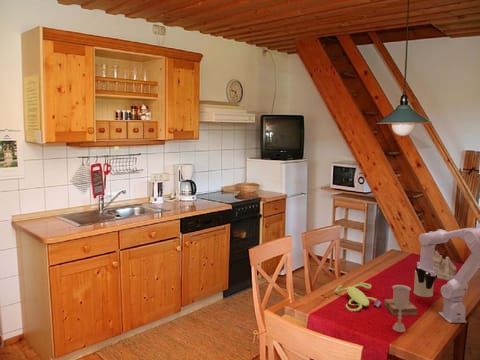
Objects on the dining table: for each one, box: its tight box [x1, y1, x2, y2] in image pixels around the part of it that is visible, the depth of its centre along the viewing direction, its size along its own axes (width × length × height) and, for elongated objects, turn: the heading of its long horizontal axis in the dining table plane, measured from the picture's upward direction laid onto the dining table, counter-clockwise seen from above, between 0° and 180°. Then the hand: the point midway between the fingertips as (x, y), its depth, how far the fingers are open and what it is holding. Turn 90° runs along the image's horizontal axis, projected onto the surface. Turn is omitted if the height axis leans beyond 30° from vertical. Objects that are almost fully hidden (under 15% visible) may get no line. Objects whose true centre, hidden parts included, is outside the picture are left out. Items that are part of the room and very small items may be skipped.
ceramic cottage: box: [433, 250, 457, 282], centre depth 243 cm, size 16×16×15 cm
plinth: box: [383, 298, 418, 316], centre depth 197 cm, size 11×11×3 cm
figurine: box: [334, 281, 382, 313], centre depth 208 cm, size 18×27×6 cm
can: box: [413, 269, 435, 298], centre depth 216 cm, size 9×9×12 cm
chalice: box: [392, 284, 412, 333], centre depth 178 cm, size 7×7×18 cm
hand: (424, 285), depth 202 cm, fingers open, 7 cm apart
